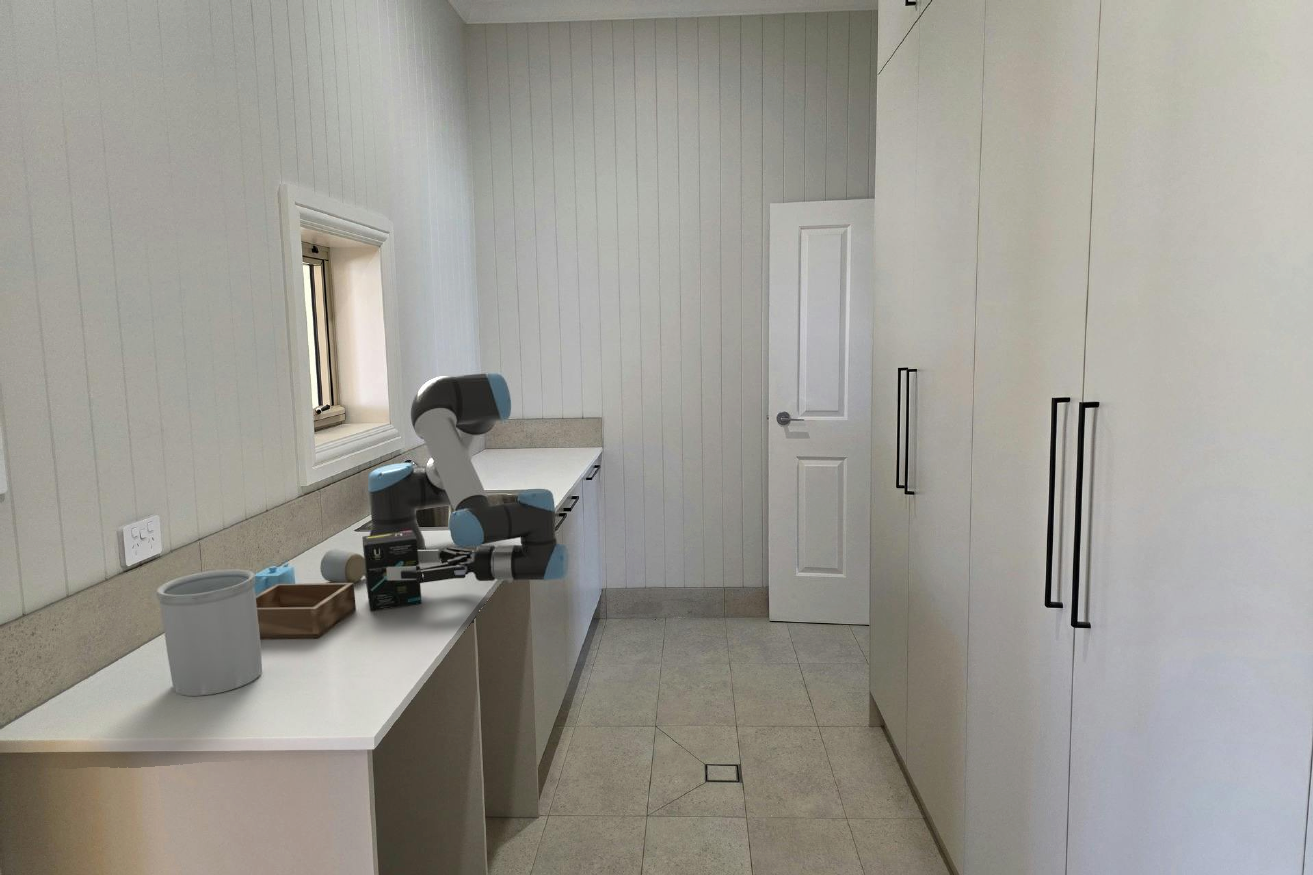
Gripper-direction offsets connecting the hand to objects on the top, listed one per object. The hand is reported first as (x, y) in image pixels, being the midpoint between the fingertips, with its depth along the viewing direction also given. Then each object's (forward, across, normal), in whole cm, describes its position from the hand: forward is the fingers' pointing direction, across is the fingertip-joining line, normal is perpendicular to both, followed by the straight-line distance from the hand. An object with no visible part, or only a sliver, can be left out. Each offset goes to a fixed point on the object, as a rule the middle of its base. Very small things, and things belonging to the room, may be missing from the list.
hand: (399, 564), depth 185 cm
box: (+17, -14, -8) cm, 23 cm away
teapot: (+31, +4, -9) cm, 32 cm away
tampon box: (+2, 0, -9) cm, 9 cm away
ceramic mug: (+20, +18, -9) cm, 28 cm away
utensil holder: (+17, -42, -8) cm, 46 cm away
